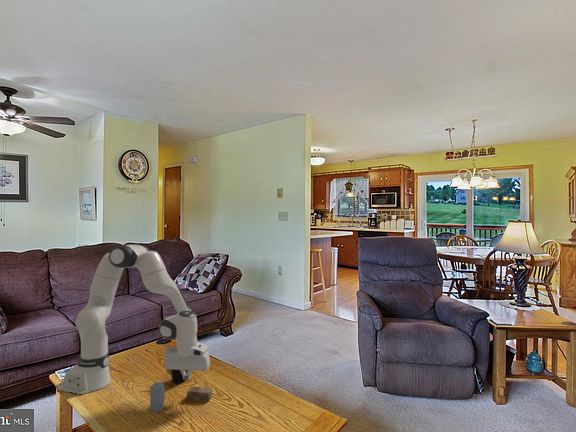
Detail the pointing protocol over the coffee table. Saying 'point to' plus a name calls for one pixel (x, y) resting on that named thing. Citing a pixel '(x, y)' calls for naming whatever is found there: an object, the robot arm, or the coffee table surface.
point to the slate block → (157, 396)
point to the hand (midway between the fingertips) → (186, 378)
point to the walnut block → (199, 394)
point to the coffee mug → (177, 376)
